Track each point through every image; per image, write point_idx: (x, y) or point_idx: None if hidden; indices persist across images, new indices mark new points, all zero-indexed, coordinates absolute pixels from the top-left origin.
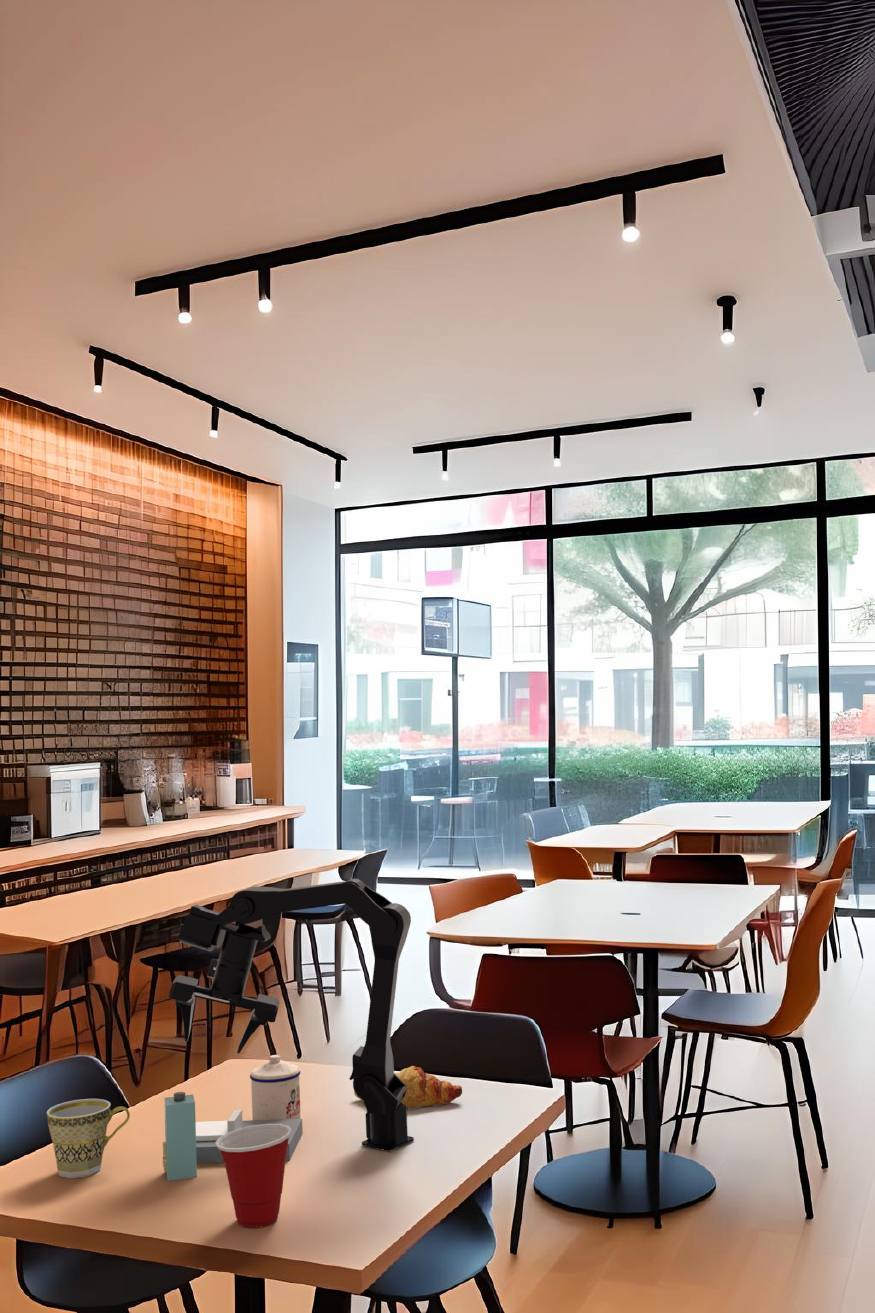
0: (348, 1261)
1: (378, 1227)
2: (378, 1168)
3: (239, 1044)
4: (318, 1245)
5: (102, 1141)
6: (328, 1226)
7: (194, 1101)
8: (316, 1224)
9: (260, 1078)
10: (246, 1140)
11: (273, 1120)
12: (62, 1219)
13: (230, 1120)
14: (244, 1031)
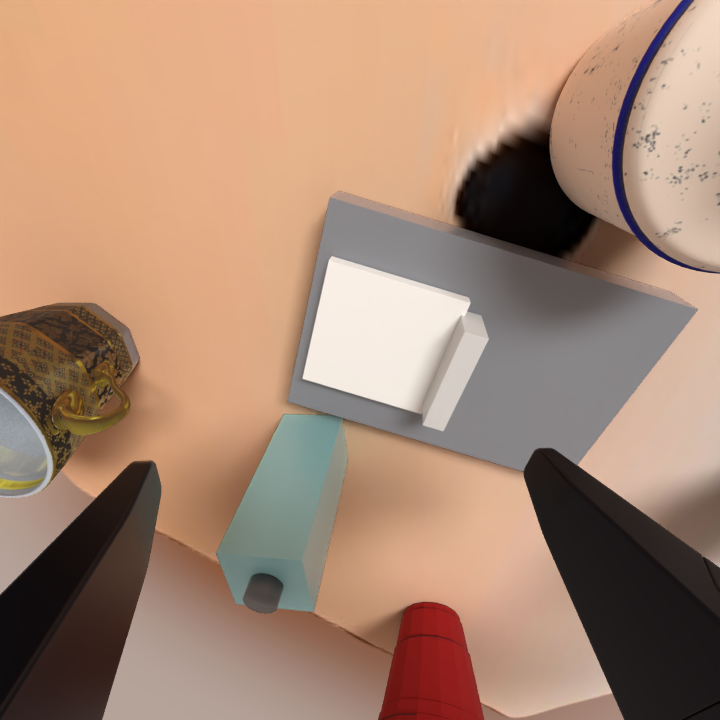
0: (507, 708)
1: (575, 679)
2: (702, 553)
3: (550, 548)
4: (488, 680)
5: (104, 403)
6: (516, 657)
7: (312, 609)
8: (503, 649)
9: (648, 237)
10: (424, 718)
11: (597, 288)
12: (156, 522)
13: (432, 423)
14: (651, 607)
